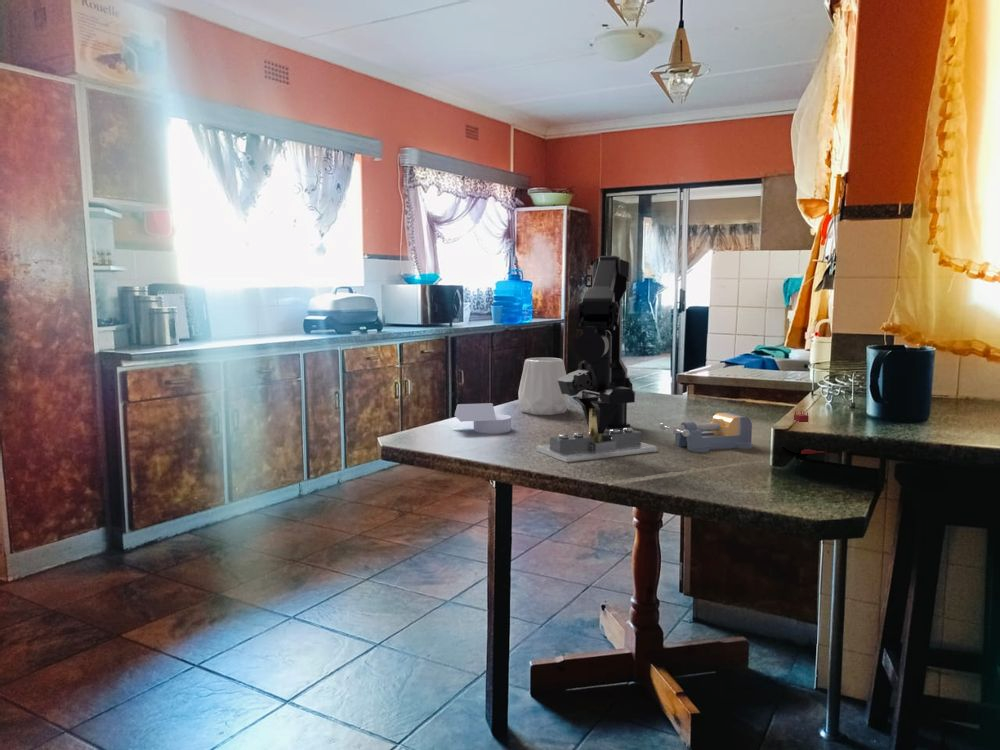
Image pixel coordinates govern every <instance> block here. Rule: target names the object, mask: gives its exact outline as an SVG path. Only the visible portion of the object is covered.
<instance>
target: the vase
mask: <svg viewBox="0 0 1000 750" xmlns="http://www.w3.org/2000/svg"><path fill="white" fill-rule="evenodd" d="M565 375H567V372H566V367H565V361H564V359H562V358H559V357H558V358H557V357H529V358H526V359H525V360H524V363H523V369H522V373H521V378H520V382H519V387H518V392H517V393H518V404H519V409H521V410H520V411H521V413H522V412H523V413H526V414H531V415H539V416H540V415H541V416H553V415H558V414H565V412H567V410H568V407H569V401H570V396H569V395H568V394H562V393H561V390H560V387H559V383H558V379H559V378H561V377H563V376H565Z"/></svg>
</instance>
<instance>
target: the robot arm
mask: <svg viewBox="0 0 1000 750" xmlns="http://www.w3.org/2000/svg"><path fill="white" fill-rule="evenodd" d="M592 264H593V265H592V280H593V283H592V286H591V289H589V290H587V291H585V292H584V293H583V295H582V299H581V301H579V302H578V309H577V313H576V322H575V330H577V331H581V330H582V332H583V333H582V334H580V336H579V337H578V338H577V340H576V342H575V352H576V355H577V356H578V358H580V359H581V360H582V361H579V363H578V364H577V370H575V371H570V372H569V373H568V374H567V373H566V375H565V376H563V377H561V378H559V379H558V383H559V387H560V390H561V393H562V394H568V395H569V397H572V399H573V400H575V401H576V402H577V403H579V405H580V406H581V409H582V410H583V413H584V417H585V420H586V423H587V427H588V428H589V408H593V407H595V408H596V414H597V428H598V433H599V434H603V433H604V432H605V431H606V429H618V428H629V427H631V424H630V423H627V416H628V415H627V414H628V412H627V411H628V409H627V407H628V403H629V404H630V403H631V404H632V403H633V404H634V403H635V402H636V392H635V391H634V389H633V388H634V387H633V383H632V382H631V379H630V377H628V376H629V375H628V367H626V365H625V364H624V361H623V360H622V300H623V297H624V296H625V294H626V292H627V291H628V289H629V282H630V283H631V282H632V268H631V264H630V262H628V261H626V260H624V259H621V257H620V256H617V255H600V256H597V258H596V261H594V262H593V263H592Z"/></svg>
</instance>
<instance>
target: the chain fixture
mask: <svg viewBox="0 0 1000 750" xmlns="http://www.w3.org/2000/svg"><path fill="white" fill-rule="evenodd" d="M657 449H658V448H657V446H655V445H652V444H649V443H645V442H642V431H639V430H635V429H633V428H632V427H622V429H618V428H609V429H608V430H607V431H606V430H605V431H604V433H603V441H602V442H593V443H592V437H589V435H585V434H584V433H583V432H573V433H572V434H566V433H561V434H558V435H557V436H549V444H543V445H535V451H536V452H538V453H541V454H543V455H545V456H548V457H551V458H554V459H557V460H559V461H562V462H564V463H572V462H581V461H582V462H583V461H587V460H588V461H589V460H599V459H606V458H607V459H608V458H613V457H614V458H615V457H622V456H630V455H638V454H647V453H655V452H657V451H658V450H657Z"/></svg>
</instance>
